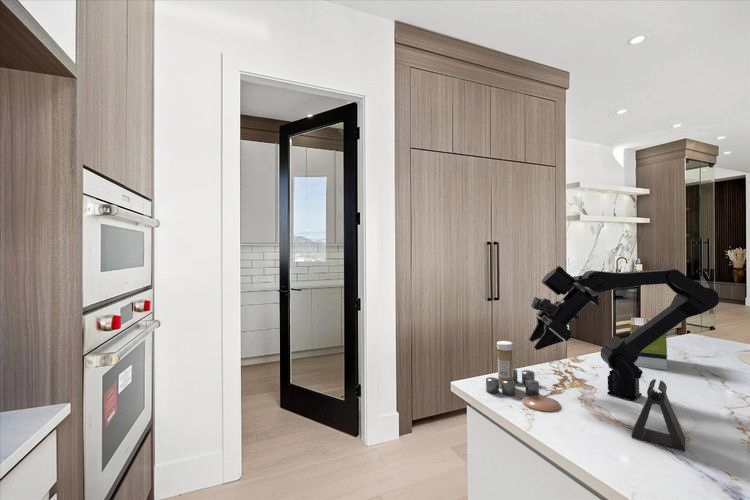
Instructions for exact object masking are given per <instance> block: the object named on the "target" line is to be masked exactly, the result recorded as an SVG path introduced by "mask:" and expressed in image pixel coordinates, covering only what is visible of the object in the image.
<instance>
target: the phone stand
mask: <svg viewBox="0 0 750 500" xmlns="http://www.w3.org/2000/svg"><path fill="white" fill-rule="evenodd" d="M656 381H657V380H656V379H655V378H654V379H651V381H650V382H649V384H648V388H647V391H646V395H647V399H646V401H645V403H644V405H643V407H642V409H641V411H640V413H639V414H638V418H636V419H637V420H636V422H635V424H634V426H633V429H632V432H631V434H630V437H631V438H632V439H634V440H638V441H643V442H645V443H650V444H653V445H658V446H661V447H664V448H669V449H672V450H675V451H679V452H685V451H686V438H687V437H686V435H685V434H684V432H683V428H682V427H681V425H680V422H679V420H678V418H677V416H676V413H675V411H674V409H673V407H672V404H671V401H670V399H669V397H668V395H667V388H668V387H667V385H666V382H664V381H663V380H661V379H660V380H659V383H658V387H657V389H658V390H659V391H656V390H655V389H654V388H655V384H656ZM653 405H658V406H659V407H660V410H661V414H662V416H663V419H664V422H665V425H666V428H667V431H668V433H666V432H662V431H658V430H652V429H649V428H646V424H647V422H648V419H649V415H650V413H651V410H652V406H653Z"/></svg>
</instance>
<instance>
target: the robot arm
mask: <svg viewBox="0 0 750 500" xmlns="http://www.w3.org/2000/svg"><path fill="white" fill-rule="evenodd" d="M541 283H542V284H543V285H544V286H546V287H547V288H548V289H549V290H551V292H553V293H554V294H556V296H560V295H561V296H564V297H562V298H561V300H556V301H555V302H554V303H552V302H551V300H550V299H548V298H546V297H544V298H540V297H537V296H534V297H533V299H532V303H531V305H530V307H531V308H532V309H533V310H537V311H538V312H537V313H536V317H535V318H536V326H535V327H534V329H533V331H532V333H531V334H530V337H529V342H531V343H533V342H535V341H537V342H536V344H535V345H534V346H533V347H534V349H535V350H536V351H539V350H541V349H544V348H547V347H550V346H553V345H556V344H558V343H559V344H560V343H564V342H565V341H566V342H568V341H569V340H570V339H571V338H572V337H573V336H572V331H571V330H570V329H568V328H569V327H568V325H569V324H571V322H572V321H573V320H574V319H575V320H577V319H578V318H579V314H580V313H581V312H582V310H584V309H585V308H586V307H587V306H588V305H589V303H592V304H593V305H595V306H600V303H599V302H600V301H599V295H597V294H592V293H591V292H589V291H592V292H595V293H596V292H597V293H602V292H606V291H607V292H608V291H612V290H615V289H618V288H621V287H632V286H653V285H666V286H668V287H669V289H670V290H671V291H673V292H674V293H675V294H676V295H675V296H674V297H673V299H672V301H671V304H670V305H668V306H667V307H666V308H665V309H663V310H662V311H661V312H659V313H658V314H657V315H655V316H654V317H652V318H650V319H651V320H650V321H648V322H647V323H646V324H644V325H643V326H642V327H640V328H639V329H637V330H636V331H635V332H633V333H632V334H631V333H630V335H628V336H627V337H623V338H620V337H618V336H616V335H614V336H612V337H611V338H610V339H609V341H606V342H603V343H602V345H603V347H601V349H600V358H601V359H602V360H603V362H605V363H606V364H607V367H608V368H609V369H610V370H609V371H608V372H609V375H607V390H608V392H606V393H607V395H610V396H612V397H616V398H620V399H625V400H627V401H632V402H635V401H637V400H638V399H639V398H641V396H642V394H643V393H642V392H640V379H641V378H642V375H643V370H642V369H641V368H640V367H639V366H636V365H635V364H634V363H635V362H636V361H637V359H638V357H639V355H640V353H641V351H642V350H643V349H644V348H646V347H647V346H649V345H650V344H651V343H653V342H654V341H656V340H657V339H658V338H660V337H661V336H663V335H664V334H665V333H666V334H667V333H668V332H669V331H671V330H673V328H675V327H677V326H678V325H680V323H682V322H684V321H685V320H686V319H688V318H691V317H695V316H698V315H702V314H705V313H706V312H708V311H711V310H712V309H715V308H716V307H717V306H718V305H719V303H720V301H719V300H720V296H719V294H718V292H717V291H716V290H715V289H713V288H710V287H706V286H704V285H703V284H701V283H699V282H697V281H696V280H694V279H692V278H690V277H689V276H687V275H685V274H684V273H683V272H681V271H680V270H678V269H674V268H663V269H656V270H655V269H653V270H652V269H651V270H638V271H623V272H622V271H621V272H613V271H605V270H604V271H603V270H594V269H593V270H587V271H585V272H584V273H583V274H582V275H577V276H575V275H574V276H572V275H571V274H569V272H567V271H566V270H565V269H564V268H563V267H562V266H561V265H557V266H556V267H555V268H553V269H552V270H551V271H549V272H548V273H547V274H546V275H545V276H544V277H543V278H542V279H541ZM577 286H580V287H583V288H581V289H580V288H578V287H577ZM588 290H589V291H588ZM564 340H565V341H564Z"/></svg>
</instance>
